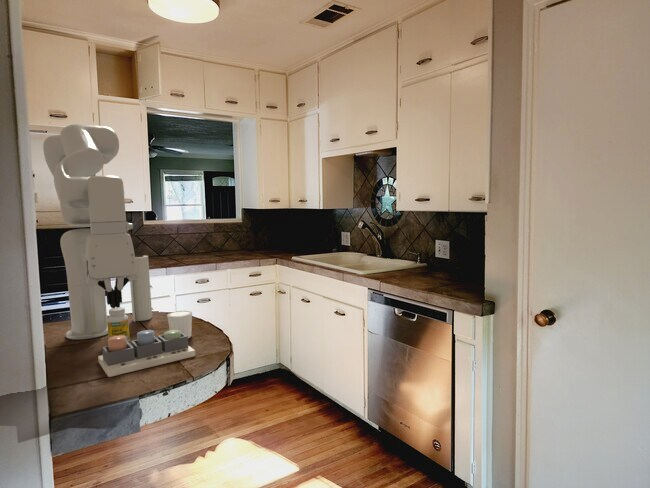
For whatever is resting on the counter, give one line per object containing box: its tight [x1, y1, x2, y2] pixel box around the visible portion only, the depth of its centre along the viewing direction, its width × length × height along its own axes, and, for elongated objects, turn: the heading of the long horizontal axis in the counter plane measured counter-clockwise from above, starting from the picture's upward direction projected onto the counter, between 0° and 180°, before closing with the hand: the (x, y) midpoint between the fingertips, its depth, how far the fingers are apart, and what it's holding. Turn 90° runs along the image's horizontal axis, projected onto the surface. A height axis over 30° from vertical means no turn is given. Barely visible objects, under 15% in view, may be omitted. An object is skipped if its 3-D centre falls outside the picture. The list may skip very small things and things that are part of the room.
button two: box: [136, 329, 156, 346], centre depth 107 cm, size 4×4×4 cm
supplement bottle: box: [107, 306, 131, 343], centre depth 121 cm, size 5×5×10 cm
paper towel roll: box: [129, 255, 153, 323], centre depth 143 cm, size 7×6×21 cm
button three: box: [163, 330, 181, 340], centre depth 111 cm, size 4×4×4 cm
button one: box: [107, 335, 127, 352], centre depth 103 cm, size 4×4×4 cm
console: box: [97, 332, 196, 378], centre depth 107 cm, size 12×20×4 cm, turn 127°
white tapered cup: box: [166, 310, 193, 339], centre depth 124 cm, size 7×7×7 cm
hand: (115, 306), depth 102 cm, fingers closed
